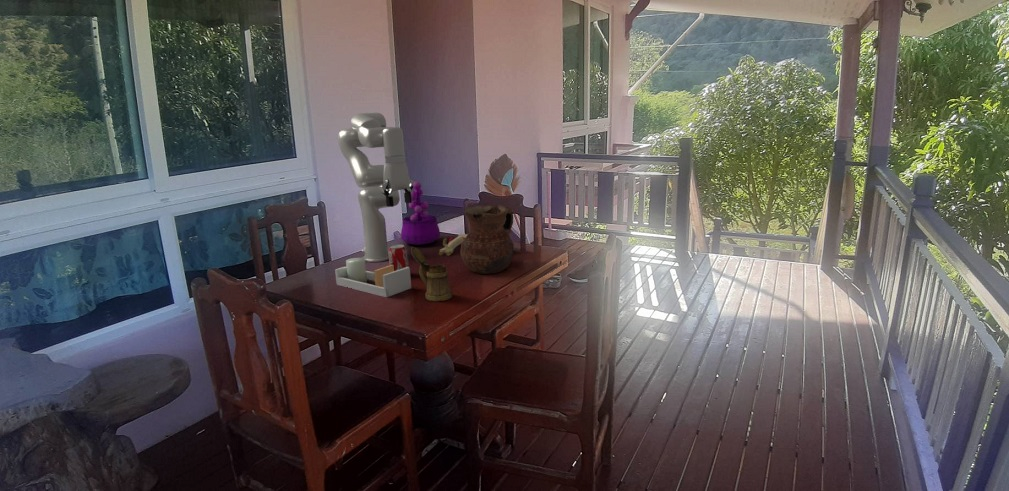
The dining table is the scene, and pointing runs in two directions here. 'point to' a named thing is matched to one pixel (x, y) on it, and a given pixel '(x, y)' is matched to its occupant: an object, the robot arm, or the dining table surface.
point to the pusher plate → (381, 272)
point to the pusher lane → (391, 281)
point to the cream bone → (452, 244)
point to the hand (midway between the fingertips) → (399, 204)
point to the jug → (488, 239)
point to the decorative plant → (419, 222)
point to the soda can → (398, 257)
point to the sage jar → (356, 269)
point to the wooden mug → (433, 278)
